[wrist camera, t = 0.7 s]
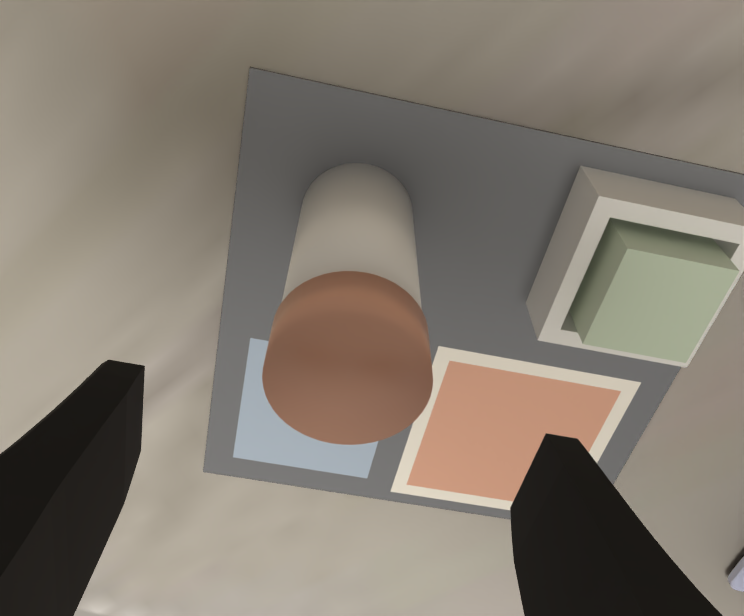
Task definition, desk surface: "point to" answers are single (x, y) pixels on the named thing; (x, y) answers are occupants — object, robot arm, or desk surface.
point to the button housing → (586, 225)
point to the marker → (351, 314)
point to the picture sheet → (430, 298)
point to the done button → (651, 290)
